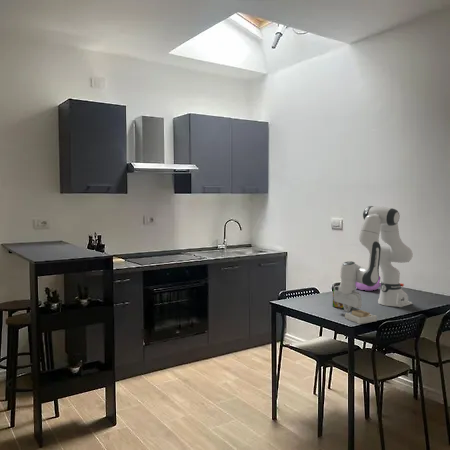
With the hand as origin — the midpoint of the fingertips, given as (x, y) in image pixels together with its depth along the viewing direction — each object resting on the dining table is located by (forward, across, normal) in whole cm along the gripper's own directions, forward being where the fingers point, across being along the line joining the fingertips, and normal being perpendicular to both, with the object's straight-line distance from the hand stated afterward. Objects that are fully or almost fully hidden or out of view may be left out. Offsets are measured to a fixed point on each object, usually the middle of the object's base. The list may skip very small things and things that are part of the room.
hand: (347, 312), depth 273 cm
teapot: (+3, +48, -66) cm, 82 cm away
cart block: (+2, -12, 0) cm, 12 cm away
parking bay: (+2, -11, 0) cm, 11 cm away
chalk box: (+2, +17, -12) cm, 21 cm away
